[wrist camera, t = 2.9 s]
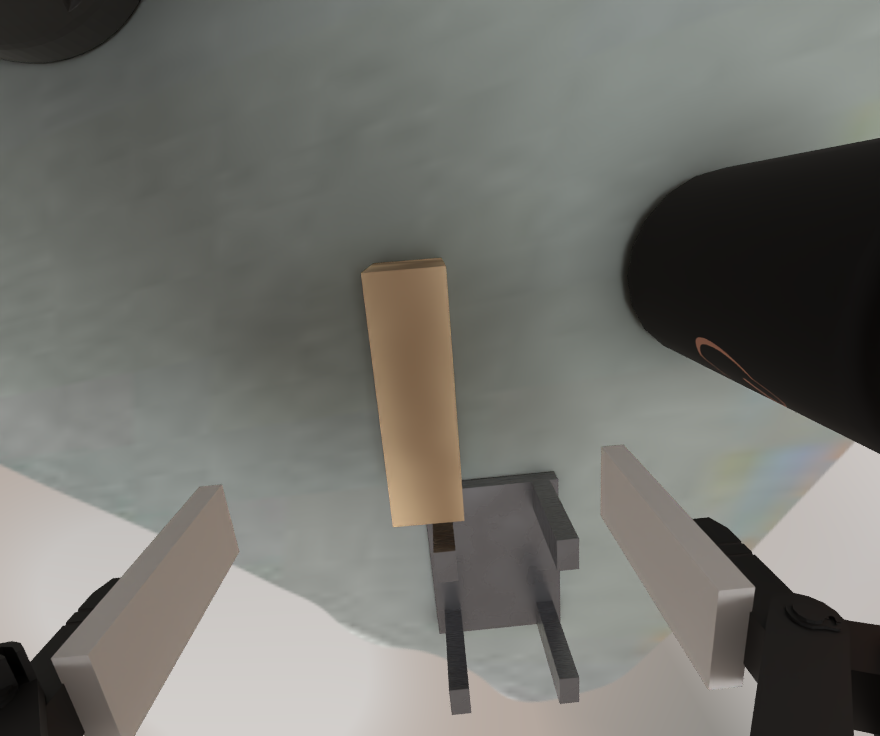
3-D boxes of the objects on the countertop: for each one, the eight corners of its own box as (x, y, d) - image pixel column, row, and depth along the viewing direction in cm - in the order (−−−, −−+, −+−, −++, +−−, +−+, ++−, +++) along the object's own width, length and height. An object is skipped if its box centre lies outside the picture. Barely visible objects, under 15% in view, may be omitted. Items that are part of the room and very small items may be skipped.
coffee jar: (596, 333, 29) (849, 491, 12) (653, 150, 26) (1102, 3, 9) (753, 364, 30) (1198, 552, 13) (825, 191, 27) (1536, 132, 10)
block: (398, 472, 32) (393, 527, 26) (373, 263, 27) (360, 273, 22) (456, 467, 32) (464, 520, 26) (441, 257, 27) (445, 266, 22)
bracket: (439, 622, 35) (443, 715, 29) (423, 484, 32) (423, 554, 25) (556, 610, 35) (588, 700, 29) (553, 471, 32) (589, 537, 25)
